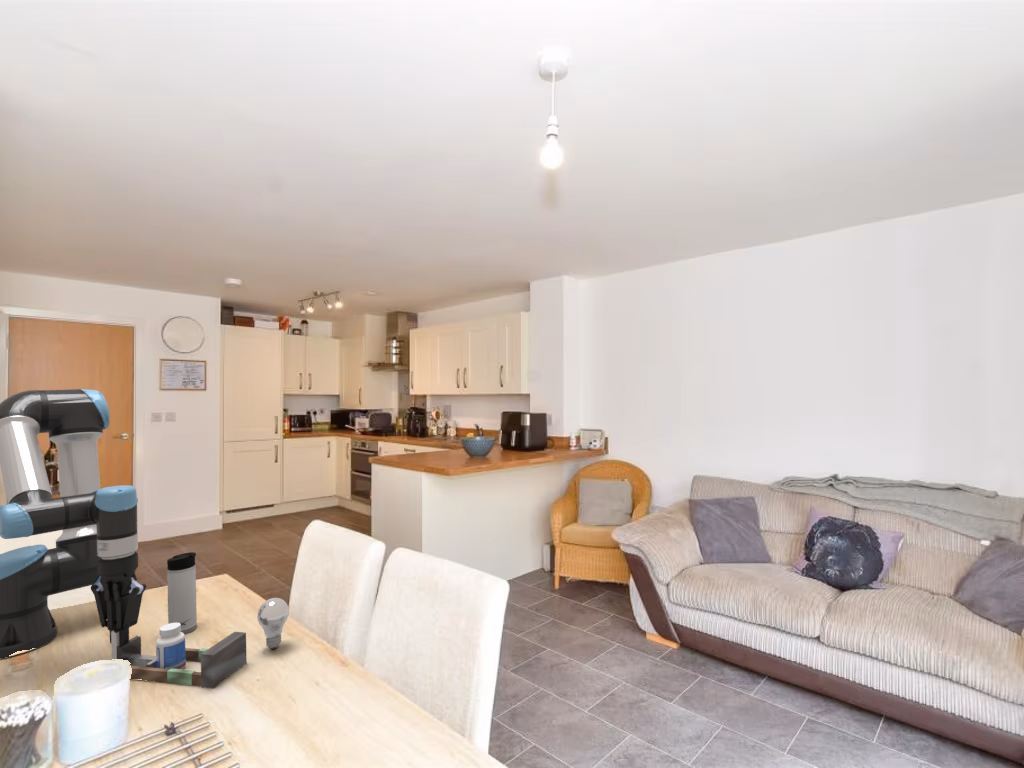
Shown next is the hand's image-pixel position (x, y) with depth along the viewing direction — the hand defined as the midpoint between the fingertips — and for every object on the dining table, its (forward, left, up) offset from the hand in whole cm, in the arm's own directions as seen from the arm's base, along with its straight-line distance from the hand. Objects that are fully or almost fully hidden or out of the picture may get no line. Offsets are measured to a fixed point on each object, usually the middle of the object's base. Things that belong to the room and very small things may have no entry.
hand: (119, 657), depth 119 cm
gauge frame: (+17, 0, -2) cm, 17 cm away
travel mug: (+1, +17, -2) cm, 17 cm away
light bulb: (+31, +12, -2) cm, 33 cm away
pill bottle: (+14, 0, -2) cm, 14 cm away
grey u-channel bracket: (+6, 0, -1) cm, 6 cm away
